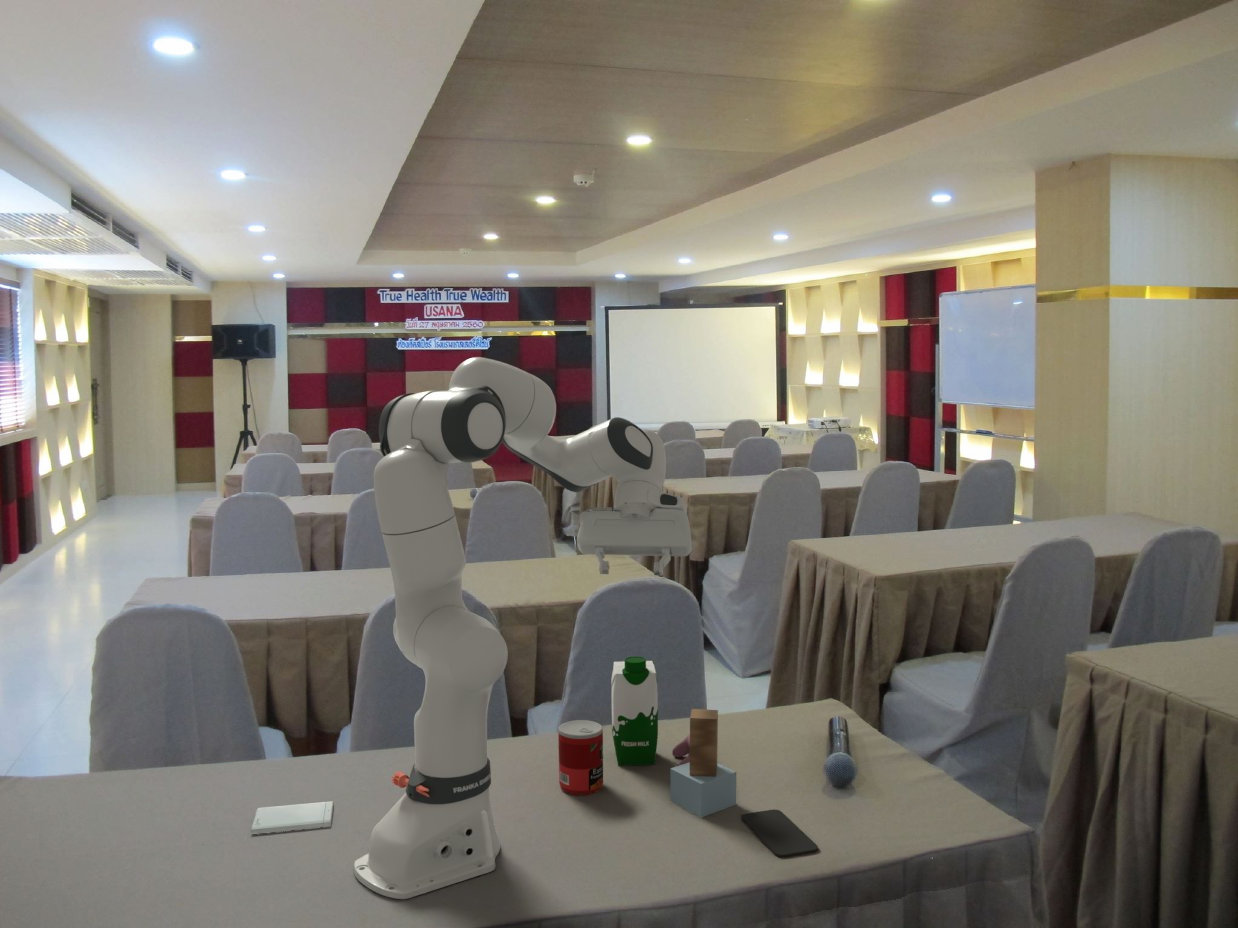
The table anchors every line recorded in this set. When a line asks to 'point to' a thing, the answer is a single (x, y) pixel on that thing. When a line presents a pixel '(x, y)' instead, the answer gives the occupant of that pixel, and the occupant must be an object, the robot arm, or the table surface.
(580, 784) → the canned food
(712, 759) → the walnut post
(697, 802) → the base block
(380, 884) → the robot arm
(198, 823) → the table surface
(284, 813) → the hard drive
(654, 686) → the milk carton
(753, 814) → the phone
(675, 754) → the video game controller
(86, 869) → the table surface
